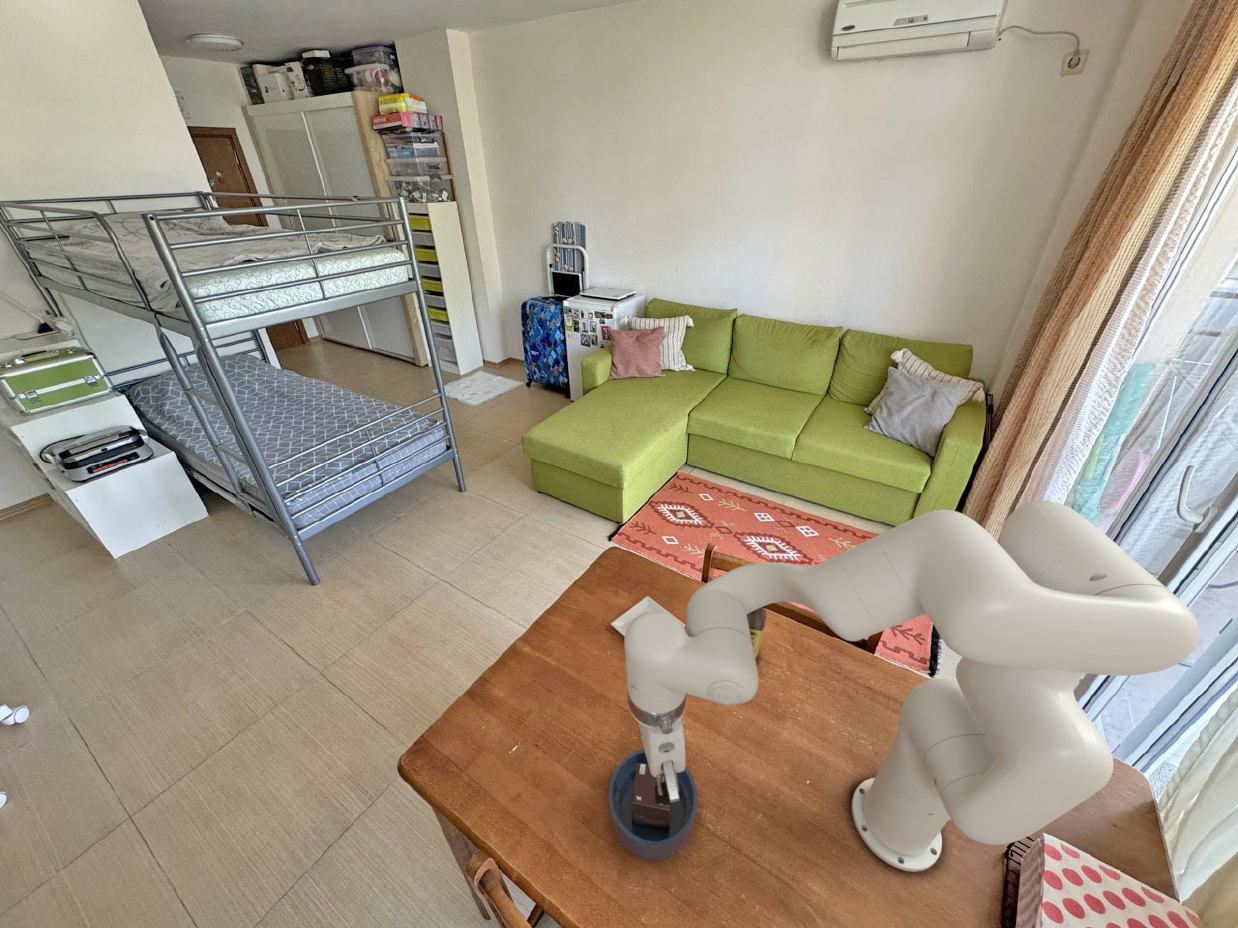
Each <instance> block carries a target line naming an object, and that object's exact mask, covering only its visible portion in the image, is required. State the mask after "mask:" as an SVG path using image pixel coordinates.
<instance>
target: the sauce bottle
mask: <svg viewBox="0 0 1238 928" xmlns="http://www.w3.org/2000/svg"><path fill="white" fill-rule="evenodd" d="M766 611H767V610H766V609H765V607H764V606H763V607H761V608H759V609H757V610H755V611H753V612H751V613H749V614H747V619H748V625H749V630H750V635H751V640H752V645H753V650H754V655H755V660H757V657H758V655H759V652H760V648H761V643H762V639H763V636H764V631H765V628H766V621H767V612H766Z"/></svg>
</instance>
